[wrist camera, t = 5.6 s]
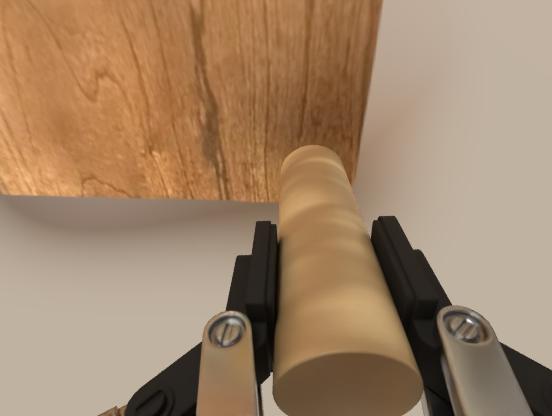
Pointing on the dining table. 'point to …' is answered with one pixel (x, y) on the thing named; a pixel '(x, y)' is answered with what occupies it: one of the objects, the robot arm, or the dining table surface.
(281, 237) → the beige marbled cylinder
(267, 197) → the dining table surface
